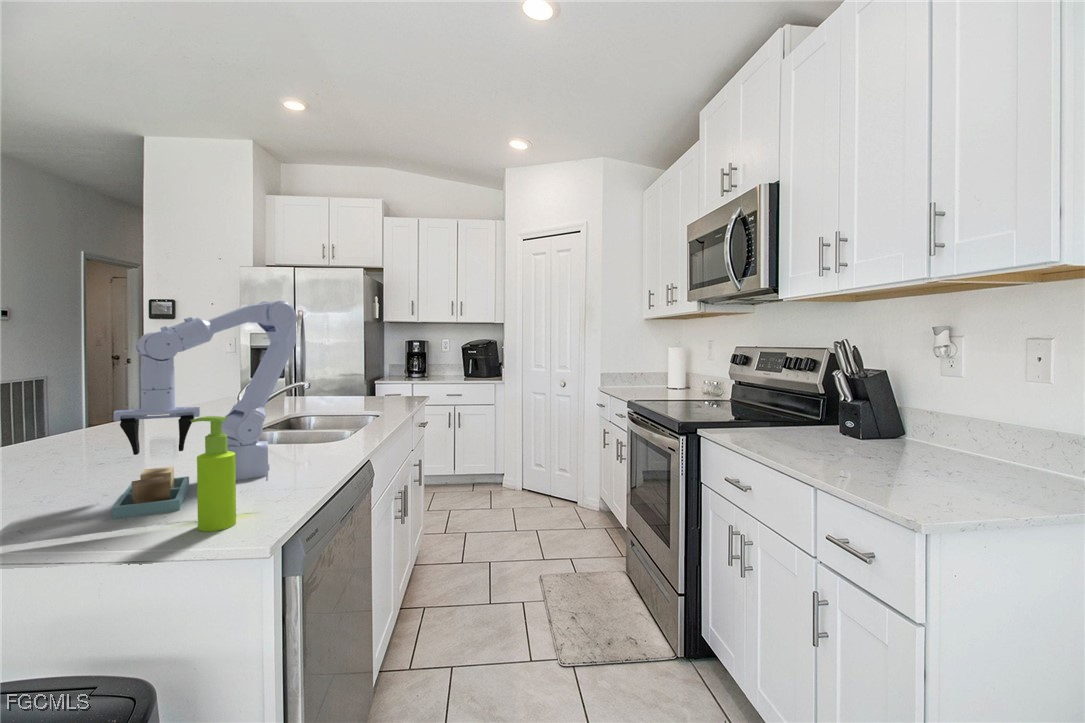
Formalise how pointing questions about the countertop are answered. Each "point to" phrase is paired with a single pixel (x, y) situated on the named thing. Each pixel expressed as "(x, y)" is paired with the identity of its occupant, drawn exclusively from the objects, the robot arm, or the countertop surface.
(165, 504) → the caddy
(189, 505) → the countertop surface
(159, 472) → the oak twin block
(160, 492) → the walnut block
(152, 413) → the robot arm
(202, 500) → the soap dispenser
